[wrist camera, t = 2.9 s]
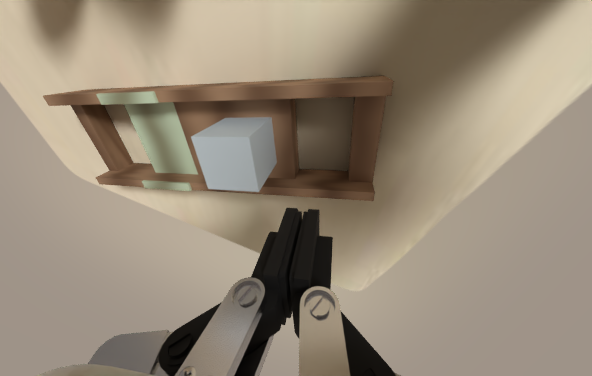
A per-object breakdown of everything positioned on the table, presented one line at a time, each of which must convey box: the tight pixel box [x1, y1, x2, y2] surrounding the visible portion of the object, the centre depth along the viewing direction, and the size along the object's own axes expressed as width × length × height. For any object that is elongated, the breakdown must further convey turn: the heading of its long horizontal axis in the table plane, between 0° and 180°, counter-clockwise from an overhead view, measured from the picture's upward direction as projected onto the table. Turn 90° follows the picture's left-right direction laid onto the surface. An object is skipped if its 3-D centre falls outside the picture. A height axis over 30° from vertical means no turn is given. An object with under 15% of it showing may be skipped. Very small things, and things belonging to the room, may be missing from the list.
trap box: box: [43, 76, 394, 201], centre depth 24 cm, size 35×11×5 cm, turn 93°
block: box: [191, 117, 277, 192], centre depth 20 cm, size 5×5×6 cm
